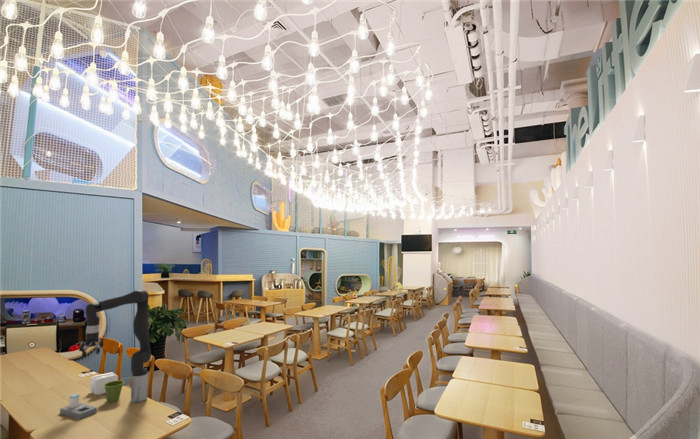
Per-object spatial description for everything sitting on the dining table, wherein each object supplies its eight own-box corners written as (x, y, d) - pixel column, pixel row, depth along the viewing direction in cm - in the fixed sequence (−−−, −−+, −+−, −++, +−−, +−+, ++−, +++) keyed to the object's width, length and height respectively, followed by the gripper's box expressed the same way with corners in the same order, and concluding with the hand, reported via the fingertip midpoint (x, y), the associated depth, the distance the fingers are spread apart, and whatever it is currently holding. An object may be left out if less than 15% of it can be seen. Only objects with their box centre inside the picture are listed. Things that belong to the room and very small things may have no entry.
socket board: (96, 412, 219) (97, 407, 219) (79, 419, 209) (79, 413, 210) (77, 407, 226) (77, 401, 227) (59, 413, 217) (60, 408, 217)
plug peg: (78, 410, 221) (79, 395, 222) (71, 413, 217) (73, 397, 218) (74, 409, 222) (76, 394, 223) (68, 412, 219) (69, 396, 220)
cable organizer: (92, 396, 243) (93, 379, 244) (89, 392, 250) (90, 376, 251) (117, 390, 253) (118, 374, 255) (113, 386, 261) (114, 371, 262)
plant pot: (101, 405, 229) (102, 387, 230) (104, 398, 239) (105, 382, 240) (122, 401, 234) (123, 384, 235) (124, 395, 245) (125, 379, 246)
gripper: (84, 334, 233) (82, 358, 232) (106, 330, 246) (104, 353, 245) (78, 333, 236) (76, 357, 234) (99, 329, 249) (98, 352, 247)
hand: (90, 355), depth 240 cm, fingers open, 8 cm apart
